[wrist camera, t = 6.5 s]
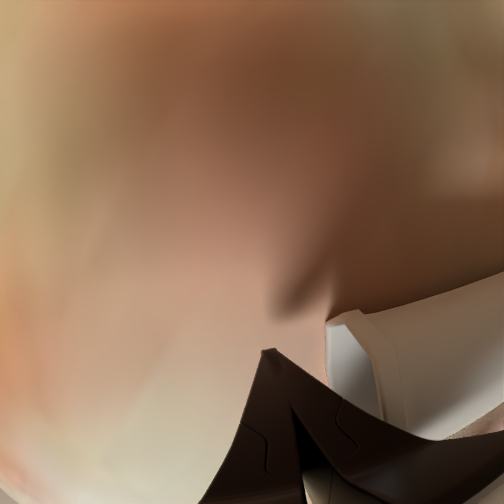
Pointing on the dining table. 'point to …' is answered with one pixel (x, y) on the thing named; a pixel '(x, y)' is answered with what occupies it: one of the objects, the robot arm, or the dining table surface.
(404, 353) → the tube
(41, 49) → the dining table surface
